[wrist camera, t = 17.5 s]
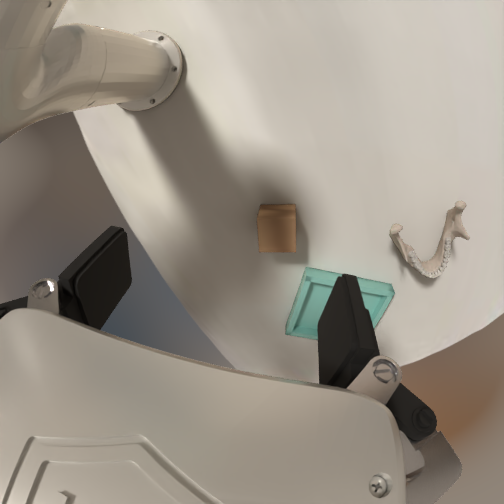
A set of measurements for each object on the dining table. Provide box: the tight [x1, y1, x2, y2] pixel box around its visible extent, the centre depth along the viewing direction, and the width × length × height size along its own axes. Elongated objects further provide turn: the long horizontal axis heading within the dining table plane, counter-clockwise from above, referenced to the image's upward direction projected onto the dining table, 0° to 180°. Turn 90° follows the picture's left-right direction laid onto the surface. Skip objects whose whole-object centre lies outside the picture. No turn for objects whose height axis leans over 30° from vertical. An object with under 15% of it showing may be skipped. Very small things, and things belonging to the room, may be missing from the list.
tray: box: [285, 267, 395, 340], centre depth 47 cm, size 16×14×2 cm
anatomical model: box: [389, 201, 470, 278], centre depth 35 cm, size 13×11×10 cm
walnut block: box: [257, 204, 296, 252], centre depth 39 cm, size 5×5×5 cm
